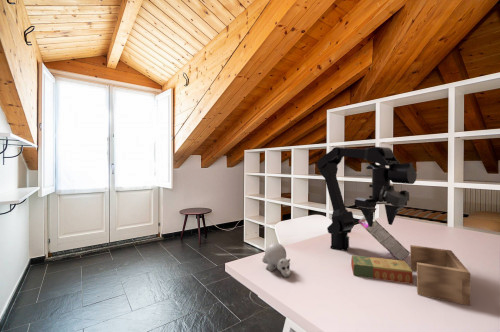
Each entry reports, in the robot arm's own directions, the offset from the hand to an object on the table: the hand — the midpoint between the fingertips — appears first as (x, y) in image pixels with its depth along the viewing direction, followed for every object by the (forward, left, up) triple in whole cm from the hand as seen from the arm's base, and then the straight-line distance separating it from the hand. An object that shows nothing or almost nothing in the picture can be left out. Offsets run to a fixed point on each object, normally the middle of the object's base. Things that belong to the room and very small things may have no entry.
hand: (380, 225), depth 84 cm
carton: (0, -11, -14) cm, 17 cm away
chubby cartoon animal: (-29, -25, -13) cm, 41 cm away
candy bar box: (+6, +9, -12) cm, 16 cm away
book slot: (+13, -11, -13) cm, 21 cm away
